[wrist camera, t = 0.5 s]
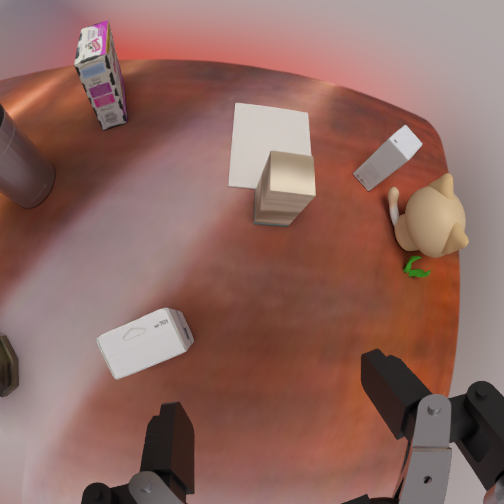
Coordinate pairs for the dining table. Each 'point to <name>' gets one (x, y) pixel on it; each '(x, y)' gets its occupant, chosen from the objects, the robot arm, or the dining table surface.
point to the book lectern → (7, 367)
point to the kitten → (429, 222)
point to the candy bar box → (101, 74)
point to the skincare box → (388, 158)
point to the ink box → (145, 342)
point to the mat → (264, 140)
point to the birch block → (284, 188)
